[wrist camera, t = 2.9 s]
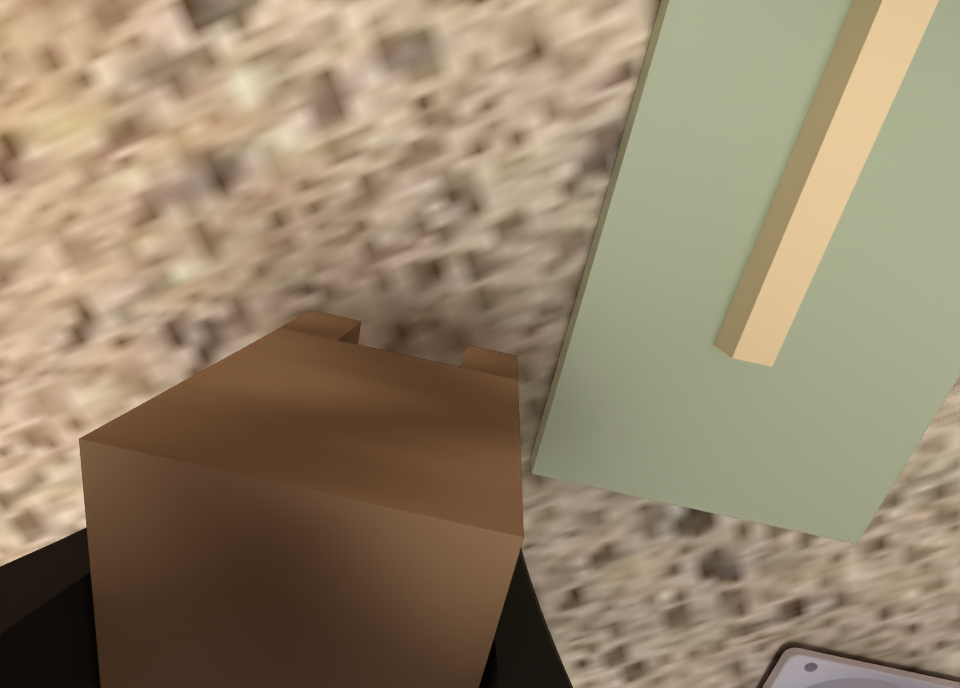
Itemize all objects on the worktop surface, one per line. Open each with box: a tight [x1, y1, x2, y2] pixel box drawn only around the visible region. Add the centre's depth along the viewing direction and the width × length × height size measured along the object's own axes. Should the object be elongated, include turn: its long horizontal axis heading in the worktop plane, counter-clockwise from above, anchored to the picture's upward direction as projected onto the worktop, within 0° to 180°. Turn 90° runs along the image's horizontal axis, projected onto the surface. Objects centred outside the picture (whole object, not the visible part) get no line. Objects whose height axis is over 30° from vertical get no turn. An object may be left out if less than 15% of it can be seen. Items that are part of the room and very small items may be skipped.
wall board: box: [530, 0, 960, 544], centre depth 12 cm, size 12×18×4 cm, turn 168°
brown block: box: [79, 310, 524, 688], centre depth 9 cm, size 5×7×6 cm
